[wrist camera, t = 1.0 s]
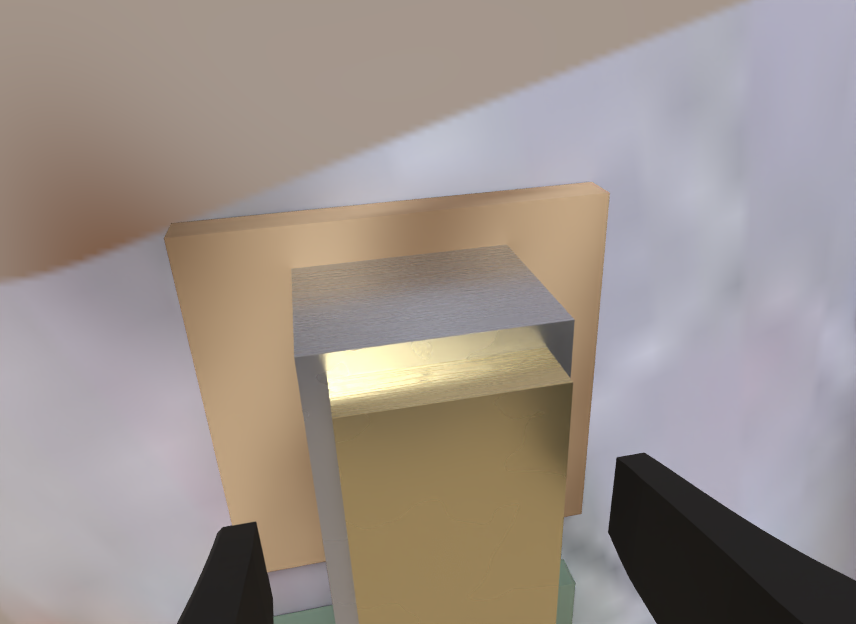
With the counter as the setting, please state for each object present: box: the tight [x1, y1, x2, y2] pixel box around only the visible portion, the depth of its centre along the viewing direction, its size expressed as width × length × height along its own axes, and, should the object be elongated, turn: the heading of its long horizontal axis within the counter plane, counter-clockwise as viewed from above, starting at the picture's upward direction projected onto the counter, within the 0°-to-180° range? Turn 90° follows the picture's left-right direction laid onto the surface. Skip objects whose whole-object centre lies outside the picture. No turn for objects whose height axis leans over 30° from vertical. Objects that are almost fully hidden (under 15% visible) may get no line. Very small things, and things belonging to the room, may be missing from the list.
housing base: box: [291, 244, 575, 624], centre depth 15 cm, size 5×8×4 cm, turn 2°
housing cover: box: [327, 348, 573, 624], centre depth 12 cm, size 4×7×1 cm, turn 2°
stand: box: [164, 182, 610, 572], centre depth 17 cm, size 10×10×1 cm
